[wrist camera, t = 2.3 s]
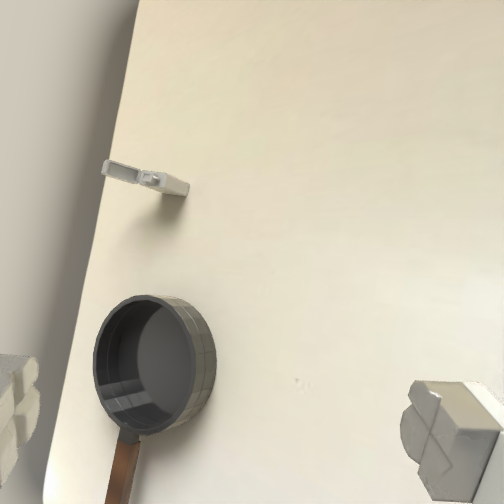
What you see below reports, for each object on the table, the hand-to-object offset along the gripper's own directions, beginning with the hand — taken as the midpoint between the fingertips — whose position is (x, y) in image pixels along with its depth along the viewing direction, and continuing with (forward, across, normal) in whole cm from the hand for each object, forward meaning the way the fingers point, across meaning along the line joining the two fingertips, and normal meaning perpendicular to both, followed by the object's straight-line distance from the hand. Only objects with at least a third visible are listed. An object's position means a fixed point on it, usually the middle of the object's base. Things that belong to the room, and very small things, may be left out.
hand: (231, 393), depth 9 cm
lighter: (+47, +6, +5) cm, 47 cm away
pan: (+36, +5, +24) cm, 44 cm away
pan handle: (+30, +7, +35) cm, 47 cm away
